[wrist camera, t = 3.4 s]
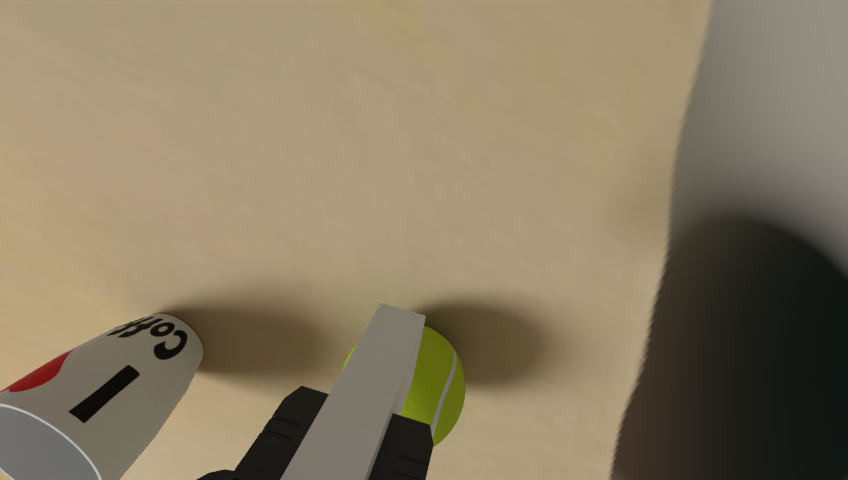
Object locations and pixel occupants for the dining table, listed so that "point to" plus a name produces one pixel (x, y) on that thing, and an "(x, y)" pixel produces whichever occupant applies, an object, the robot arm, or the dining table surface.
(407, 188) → the dining table surface
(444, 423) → the tennis ball
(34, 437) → the cup
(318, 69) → the dining table surface
